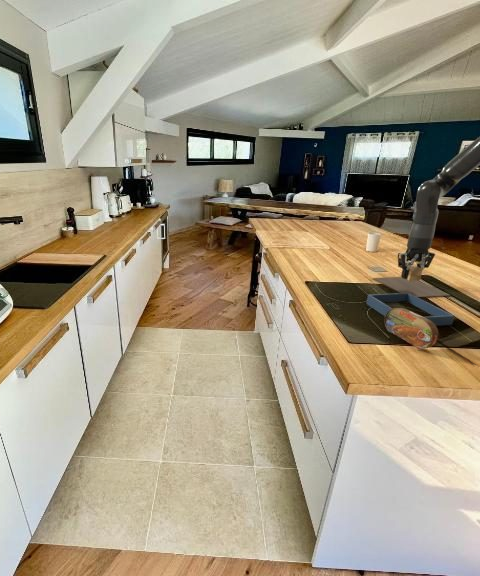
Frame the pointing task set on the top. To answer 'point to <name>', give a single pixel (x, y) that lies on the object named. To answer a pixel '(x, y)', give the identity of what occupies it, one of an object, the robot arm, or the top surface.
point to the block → (414, 273)
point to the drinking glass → (373, 242)
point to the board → (411, 287)
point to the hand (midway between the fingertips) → (410, 277)
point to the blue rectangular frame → (438, 314)
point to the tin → (411, 327)
